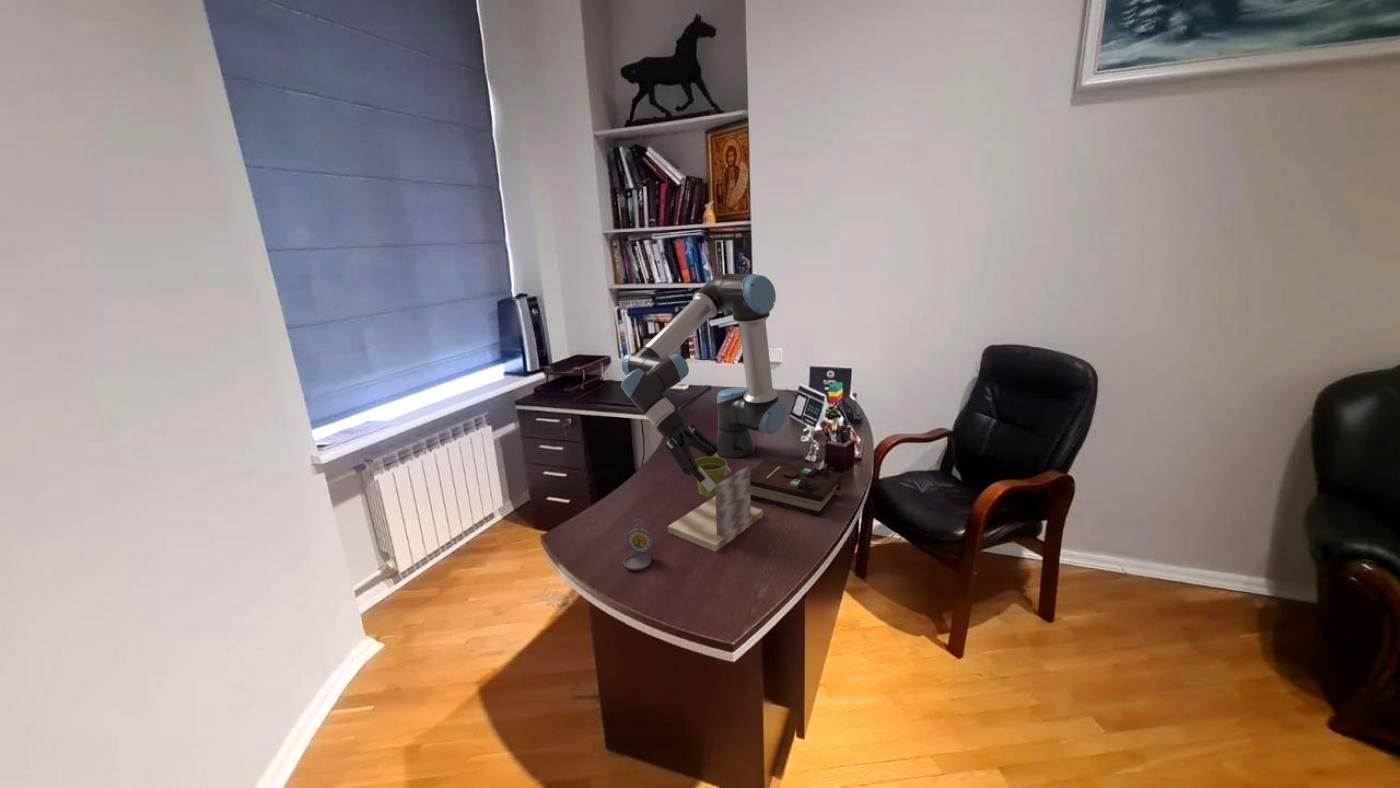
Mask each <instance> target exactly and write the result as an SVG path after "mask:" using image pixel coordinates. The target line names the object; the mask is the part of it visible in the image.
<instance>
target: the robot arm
mask: <svg viewBox="0 0 1400 788" xmlns="http://www.w3.org/2000/svg"><path fill="white" fill-rule="evenodd" d="M776 299H777V296H776V290H775V286H774V283H772V281H771V280H770V279H769V278H768V277H766V276H765V275H762V274H761V275H760V274H754V273H752V274H751V273H725V274H721V275H719V276H717V277H715V278H713V279H711V280H710V281H708V282H707V283H706V284H704V285H703V286H702V287H701V288H700V289H698V290H697V291H696V292H695V293H694V294H693V295H692V300H691V302H689V303H688V304H687V305H686V306H685V307H684V308H683V309H681V311H680V312H679V313H678V314H676V316H674V317H673V318H672V319H671V321H669V323H667V325H665V326H664V327H663V328H662V329H661V330H660V331H659V332H657V334H656V335H655V336H653V338H652V339H650V340H649V341H648V342H647V343H646V344H645V345H644V346H643V347H641V349H640V350H638V352H629V353H627V354H625V355H624V356H623V357H622V360H621V370H622V372H623V374H625V377H624V378H623V380H622V381H621V384H620V387H621V389H622V391H623V392H624V393H625V395H626V396H627V397H628V399H630V400H631V401H632V403H634V405H635V406H636V407H637V408H638V409H639V410H640V411H641V413H642V414H643V415H644V416H645V417H646V419H647V420H649V422H650V423H651V424H652V425H653V426H654V427H656V431H658V433H659V434H660V435H661V436H662V437H663V438H668V439H669V440H668V441H667V442H666V443H665V444H664V446H665V447H666V448H667V449H668V450H669V452H670V453H671V455H672V456H673V458H674V460H675V461H676V462H677V463H678V466H679V467H680V469H681V471H682V472H683V474H684V475H688V476H691V475H693V476H694V477H695V479H696V481H697V480H698V481H699V482H700V483H701V484H702V485H703V486H704V487H705V488H706V489H707V490H708V492H710V491H711V490H713V489H714V488H715V485H716V484H715V483H714V482H713V481H712V479H711V478H710V477H709V476H708V475H707V474H706V473H705V471H703V469H702V468H701V467H699V468H698V467H697V464H696V462H695V460H696V459H695V458H694V456H693V453H692V451H691V449H690V447H693V448H695V450H698V451H699V452H700V453H702V454H704V455H705V456H706V457H719V458H721V457H725V458H742V457H743V458H744V457H747V456H750V455H752V454H753V453H754V452H755V451H756V443H755V441H754V438H753V435H752V432H751V430H752V431H756V432H759V433H760V434H765V435H766V434H767V435H775V434H776V433H778V432H779V431H780V430H781V429H782V427H784V424H785V422H786V420H787V417H788V416H787V415H788V407H787V405H786V404H785V403H784V402H782V401H780V400H779V394H778V391H777V390H775V389H774V387H773V386H774V385H773V378H772V370H771V368H772V367H771V361H770V351H769V342H768V331H767V323H766V321H767V320H768V318H769V317H770V312H771V311H772V310H773V309H774V307H775V303H776ZM723 311H730V312H732V319H733V321H734V322H735V323H737V324H738V328H739V334H740V335H739V336H740V343H741V351H742V353H741V354H742V361H743V366H744V367H743V369H744V375H745V382H746V383H745V384H746V387H731V388H725V389H723V390H720V391H719V392H718V393H717V396H716V397H717V401H716V408H717V409H716V410H717V411H716V412H717V433H716V436H715V440H714V442H713V441H712V440H711V439H709V438H708V437H707V436H706V435H705V434H704V433H703V432H702V431H700V430H699V429H698V428H697V426H696V425H695V424H694V423H691V424H690V425H689V426H687V425H686V424H685V423H684V422H685V418H684V416H683V415H682V414H681V413H680V412H679V411H678V410H675V409H676V408H675V406H674V404H673V403H671V402H670V400H668V398H667V397H666V396H665V395H664V394H665V393H666V392H667V391H669V390H670V389H671V388H673V387H674V386H675V385H677V384H679V383H680V382H682V380H684V379H685V378H686V377H687V376H688V375H689V372H690V369H689V368H690V367H689V365H688V362H687V360H686V359H685V358H684V357H683V356H681V355H680V354H679V353H674V352H676V350H678V348H680V347H681V346H682V344H684V343H685V341H686V340H688V339H689V338H690V337H691V336H692V334H693V333H695V331H697V330H698V329H699V328H700V327H701V326H702V325H703V324H704V323H705V322H706V321H707V320H708V319H709V318H710V319H712V318H714V317H715V316H716V315H718V313H720V312H723ZM720 456H721V457H720ZM731 472H732V470H731V468H730V467H729V466H728V465H727V466H726V467H725V471H724V476H723V478H724V477H726V476H727V475H729V474H730V473H731Z"/></svg>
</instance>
